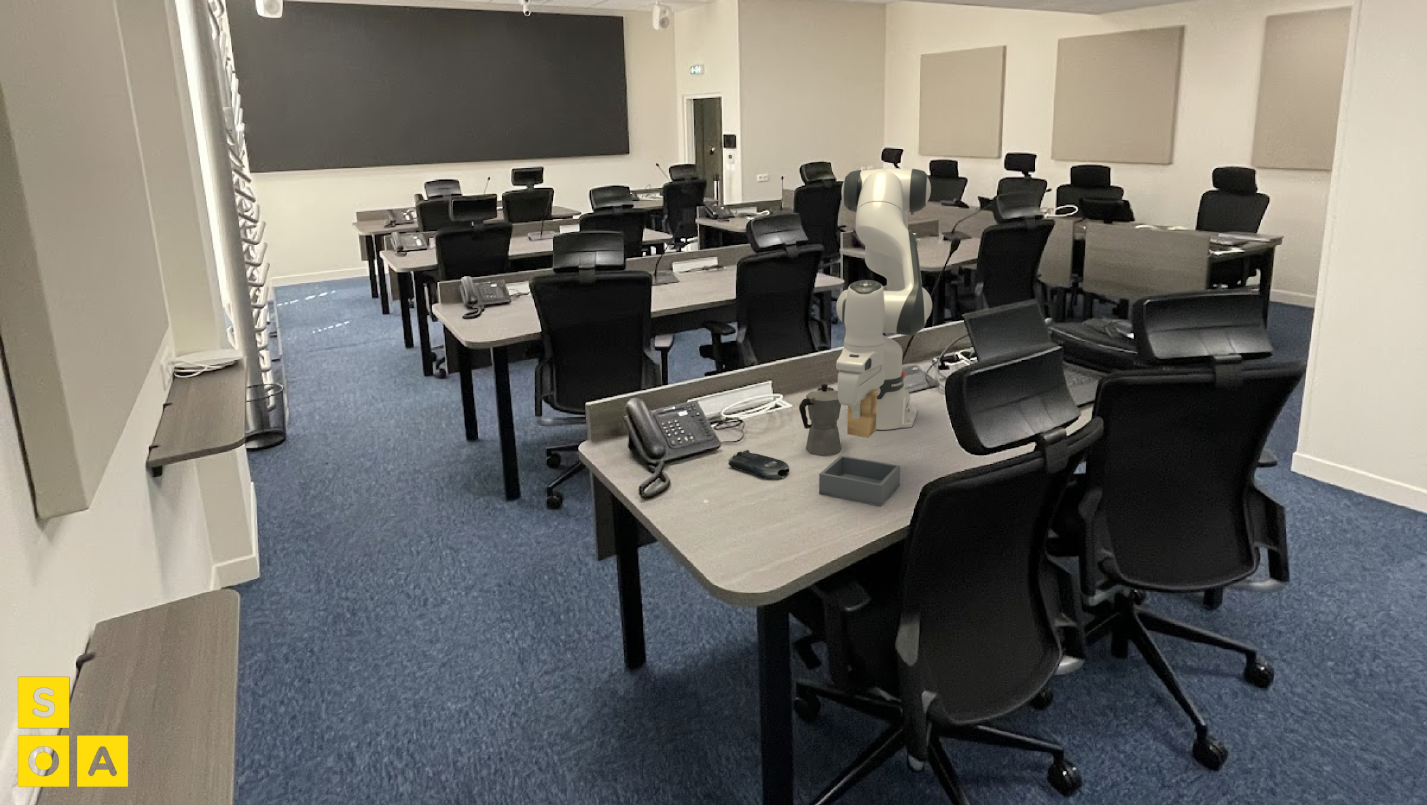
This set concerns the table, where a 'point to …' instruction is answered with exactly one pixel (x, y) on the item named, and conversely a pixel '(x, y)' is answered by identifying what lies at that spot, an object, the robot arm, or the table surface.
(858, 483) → the desk bin
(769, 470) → the electronic device
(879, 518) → the table surface
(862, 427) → the oak block
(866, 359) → the robot arm
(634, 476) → the table surface
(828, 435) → the coffeepot
